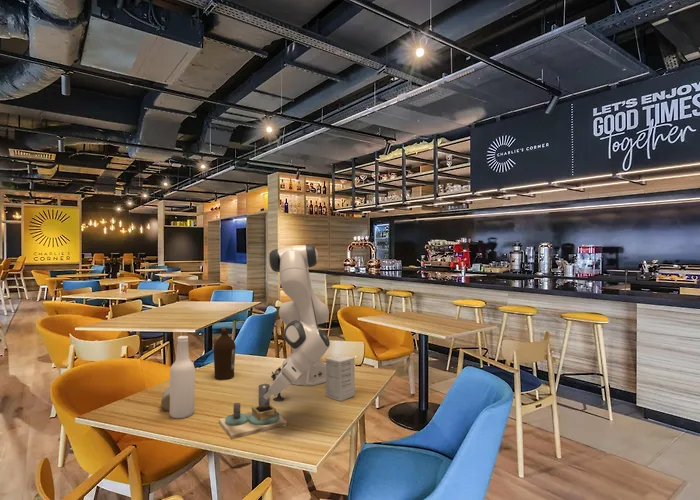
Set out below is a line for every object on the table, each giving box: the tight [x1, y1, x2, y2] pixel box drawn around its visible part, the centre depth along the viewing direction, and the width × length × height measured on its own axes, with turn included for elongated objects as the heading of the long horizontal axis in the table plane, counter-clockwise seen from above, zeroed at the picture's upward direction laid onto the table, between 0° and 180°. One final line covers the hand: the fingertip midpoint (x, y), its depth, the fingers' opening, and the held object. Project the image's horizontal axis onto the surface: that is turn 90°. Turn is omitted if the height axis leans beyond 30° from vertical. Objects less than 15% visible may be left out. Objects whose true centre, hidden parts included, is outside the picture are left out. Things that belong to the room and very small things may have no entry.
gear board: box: [218, 402, 288, 440], centre depth 144 cm, size 20×16×7 cm
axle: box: [258, 383, 271, 412], centre depth 145 cm, size 4×4×11 cm
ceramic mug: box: [160, 386, 170, 412], centre depth 159 cm, size 11×8×8 cm
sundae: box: [271, 363, 286, 402], centre depth 169 cm, size 7×7×15 cm
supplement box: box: [325, 354, 356, 402], centre depth 173 cm, size 10×9×17 cm
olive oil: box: [213, 326, 236, 381], centre depth 200 cm, size 11×11×25 cm
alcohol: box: [169, 335, 196, 420], centre depth 153 cm, size 9×9×30 cm
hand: (268, 393), depth 146 cm, fingers open, 8 cm apart
